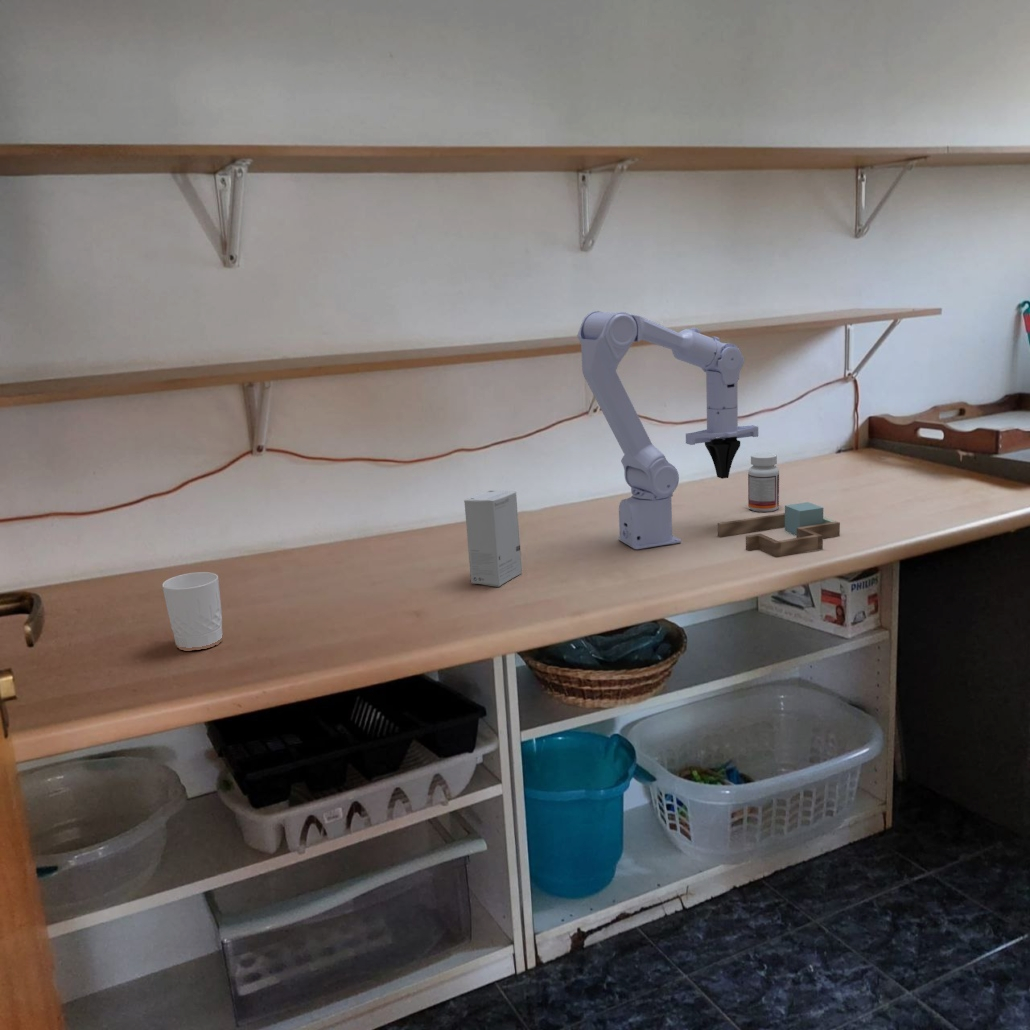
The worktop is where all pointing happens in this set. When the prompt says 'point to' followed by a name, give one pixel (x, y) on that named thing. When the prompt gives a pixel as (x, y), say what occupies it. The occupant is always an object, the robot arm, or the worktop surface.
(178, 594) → the white cup
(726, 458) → the robot arm
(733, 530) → the brown frame
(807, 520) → the teal block
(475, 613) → the worktop surface
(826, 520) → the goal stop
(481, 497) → the skincare box
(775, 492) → the pill bottle
